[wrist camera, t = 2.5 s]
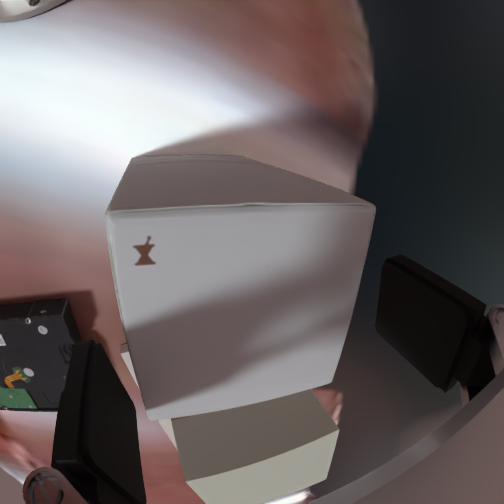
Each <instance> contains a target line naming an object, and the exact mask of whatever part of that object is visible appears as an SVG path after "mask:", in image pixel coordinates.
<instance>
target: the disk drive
mask: <svg viewBox="0 0 504 504" xmlns="http://www.w3.org/2000/svg"><path fill="white" fill-rule="evenodd" d="M78 342H82V340H81V337H80V335H79V332H78V329H77V326H76V323H75V320H74V318H73V315H72V312H71V308H70V305H69V301H68V299H65V298H64V299H58V300H51V299H50V300H39V301H35V302H29V303H20V304H19V303H18V304H9V305H0V410H9V411H33V412H35V411H36V412H38V411H42V412H58V407H59V401H60V396H61V393H62V391H63V390H64V388H65V383H66V378H67V373H68V368H69V363H70V359H71V355H72V351H73V346H74V344H75V343H78Z"/></svg>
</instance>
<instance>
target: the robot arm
mask: <svg viewBox="0 0 504 504" xmlns="http://www.w3.org/2000/svg"><path fill="white" fill-rule="evenodd" d="M64 1H66V0H0V23H7V22H15V21H19V20H23V19H27V18H30V17H32V16H35V15H38V14H40V13H43V12H45V11H47V10H49V9H51V8H53V7H55V6H57V5H59V4H61V3H63V2H64ZM485 308H486V304H484V303H482V302H481V301H480V300H478V299H476V298H475V297H473V296H472V295H470V294H468V293H467V292H465V291H464V290H462V289H460V288H459V287H457V286H455V285H454V284H452V283H450V282H449V281H447V280H445V279H444V278H442V277H440V276H439V275H437V274H435V273H434V272H432V271H430V270H428V269H426V268H425V267H423V266H421V265H420V264H418V263H416V262H414V261H413V260H411V259H409V258H407V257H406V256H404V255H401V254H398V255H395V256H393V257H390V258H387V259H386V260H385V262H384V265H383V266H382V273H381V283H380V293H379V302H378V309H377V317H376V324H375V327H376V331H377V332H378V334H379V335H380V336H381V337H382V338H384V339H385V340H386V341H387V342H388V343H389V344H390V345H391V346H392V347H393V348H394V349H396V350H397V351H398V352H399V353H400V354H401V355H402V356H403V357H404V358H405V359H406V360H408V361H409V362H410V363H411V364H412V365H413V366H414V367H415V368H416V369H417V370H418V371H419V372H420V373H422V374H423V376H425V377H426V378H427V379H428V380H429V381H430V382H431V383H432V384H433V385H434V386H436V387H438V388H441V389H442V390H443V391H444V392H445V393H446V392H447V391H448V390H449V389H451V388H452V387H453V386H455V384H456V382H457V380H458V381H459V382H460V388H461V395H462V405H463V408H462V409H461V410H460V411H458V412H457V413H456V414H455V415H453V416H452V417H451V418H450V419H449V420H447V421H446V422H445V423H443V424H442V425H441V426H440V427H438V428H437V429H436V430H435V431H433V432H432V433H431V434H429V435H428V436H426V437H425V438H424V439H422V440H421V441H419V442H418V443H417V444H415V445H414V446H412V447H411V448H409V449H408V450H406V451H405V452H403V453H402V454H400V455H399V456H397V457H396V458H394V459H393V460H391V461H389V462H387V463H386V464H384V465H382V466H381V467H379V468H377V469H376V470H374V471H372V472H370V473H369V474H367V475H365V476H363V477H361V478H359V479H358V480H356V481H354V482H352V483H350V484H348V485H346V486H344V487H342V488H340V489H338V490H336V491H334V492H331V493H329V494H327V495H325V496H323V497H320V498H318V499H316V500H313V501H311V502H309V503H306V504H504V305H495V306H492V307H491V308H490V309H489V310H488V314H487V317H486V316H484V315H483V314H484V311H485ZM23 498H24V501H25V503H26V504H146V494H145V488H144V481H143V475H142V467H141V459H140V451H139V441H138V431H137V419H136V410H135V406H134V403H133V401H132V400H131V398H130V396H129V395H128V393H127V391H126V390H125V388H124V386H123V384H122V383H121V381H120V379H119V377H118V375H117V374H116V372H115V370H114V368H113V366H112V364H111V362H110V361H109V359H108V357H107V355H106V353H105V351H104V349H103V347H102V345H101V344H100V343H98V344H96V343H95V342H94V341H93V340H88V341H83V342H78V343H75V344H74V346H73V351H72V355H71V359H70V363H69V368H68V373H67V378H66V383H65V388H64V390H63V391H62V393H61V396H60V401H59V407H58V413H57V420H56V426H55V434H54V442H53V451H52V462H51V467H41V468H37V469H36V470H34V471H32V472H31V473H30V474H29V475H28V476H27V478H26V480H25V482H24V484H23Z"/></svg>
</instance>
